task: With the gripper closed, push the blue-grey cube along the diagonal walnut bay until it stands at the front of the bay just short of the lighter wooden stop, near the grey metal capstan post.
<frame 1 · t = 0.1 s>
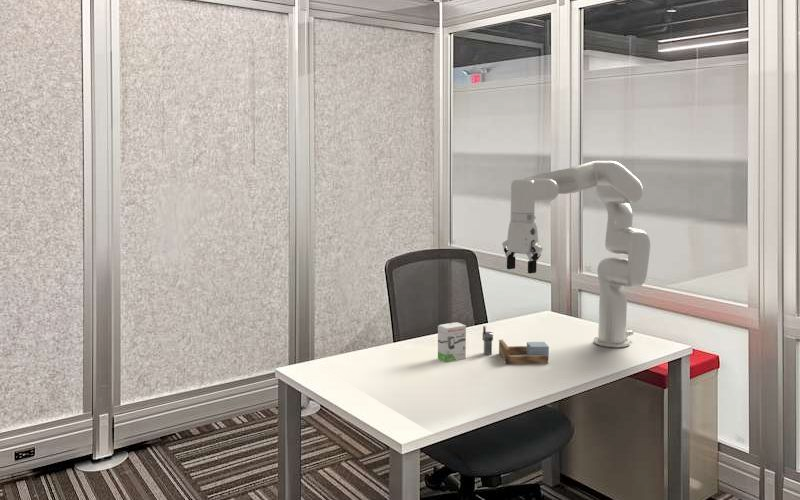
hand: (521, 270, 216), 31 cm above the table, fingers open, 9 cm apart
blue-grey cube: (537, 358, 227), on the table
bay: (522, 358, 227), on the table
ink box: (451, 359, 227), on the table
winch post: (487, 353, 232), on the table
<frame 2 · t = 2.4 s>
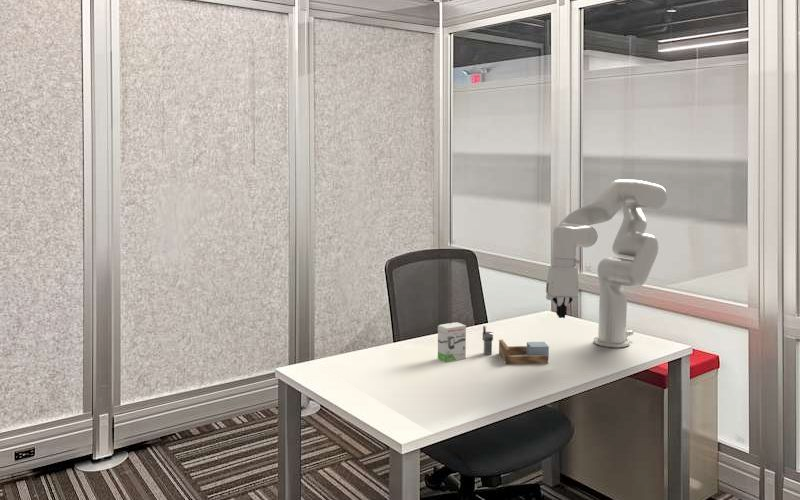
hand: (561, 317, 225), 14 cm above the table, fingers closed
nothing on the table moved.
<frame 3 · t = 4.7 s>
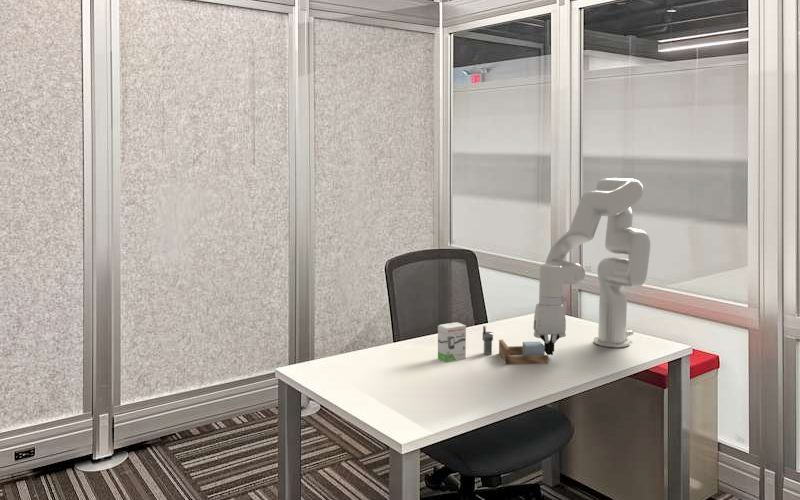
hand: (549, 353, 227), 1 cm above the table, fingers closed
blue-grey cube: (533, 358, 227), on the table, touching gripper
everything else where it was.
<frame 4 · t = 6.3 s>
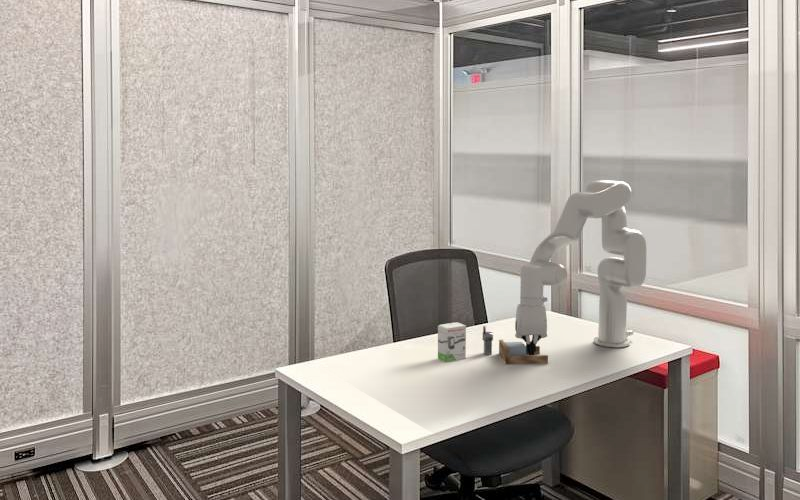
hand: (530, 354, 227), 1 cm above the table, fingers closed
blue-grey cube: (514, 358, 227), on the table, touching bay, gripper
everything else where it was.
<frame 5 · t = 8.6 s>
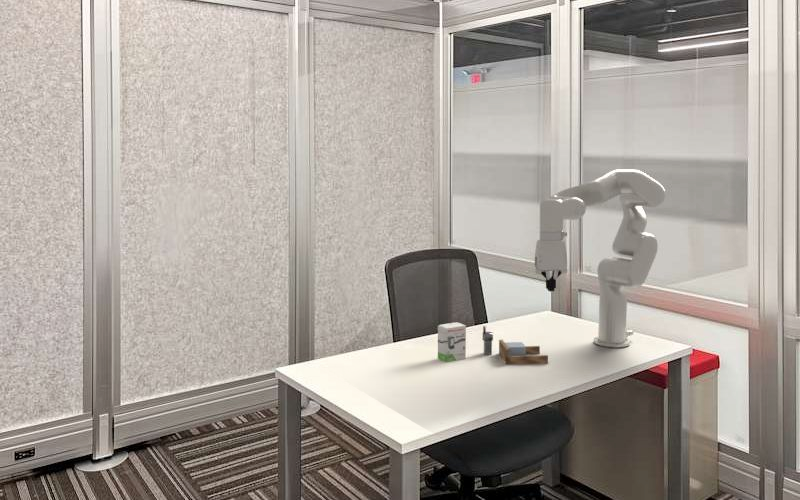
hand: (550, 290, 224), 23 cm above the table, fingers closed
blue-grey cube: (514, 359, 227), on the table
everything else where it was.
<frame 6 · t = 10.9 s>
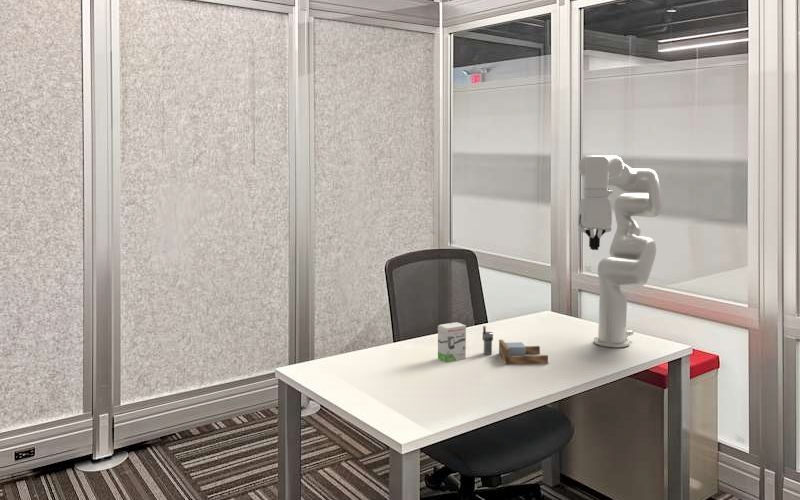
hand: (594, 249, 222), 37 cm above the table, fingers closed
nothing on the table moved.
at the end: blue-grey cube 0.6 cm from the target spot, on the table; blue-grey cube tilted 0°; blue-grey cube moved 7.8 cm from its start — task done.
